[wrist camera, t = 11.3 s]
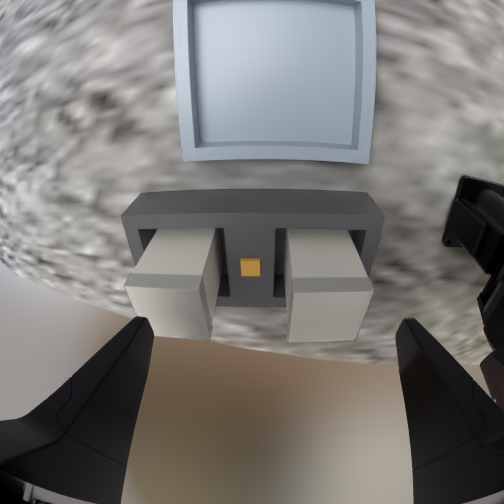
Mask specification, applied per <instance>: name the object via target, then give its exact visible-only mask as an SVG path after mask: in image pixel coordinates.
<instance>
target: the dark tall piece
mask: <svg viewBox="0 0 504 504" xmlns="http://www.w3.org/2000/svg"><path fill="white" fill-rule="evenodd" d="M493 352H494V351H493ZM493 352H492V353H493ZM492 353H491V354H490V355H489V356H488V357H487V358H486V359H485V360H484V361H483V362H482V363H481V365H480V367H481V370H482V373H483V375H484V378H485V381H486V383H487V386H488V389H489V391H490V394H491V397H492V399H493V400H494V399H495V400H496V403H497V405H499V406H500V407H501V408H502V409H503V410H504V366H503V365H502V364H501V363H500V362H499V361H498V360H496V359H495V358H494V357H493V356H492Z"/></svg>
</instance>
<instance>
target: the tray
mask: <svg viewBox="0 0 504 504" xmlns="http://www.w3.org/2000/svg"><path fill="white" fill-rule="evenodd" d="M173 33H174V59H175V77H176V92H177V105H178V117H179V127H180V137H181V147H182V156H183V162H188V161H206V160H232V159H291V160H317V161H334V162H348V163H360V164H369V157H370V148H371V139H372V129H373V118H374V104H375V86H376V19H375V2H374V0H173Z"/></svg>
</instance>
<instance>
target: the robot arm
mask: <svg viewBox="0 0 504 504" xmlns="http://www.w3.org/2000/svg"><path fill="white" fill-rule="evenodd" d="M465 182H466V184H465ZM442 242H443V244H444V245H445V246H446V247H464V248H465V249H466V251H467V252H468V253H469V254H470V256H471V257H473V258H474V259H475V261H476V262H477V263H478V265H479V266H480V267H481V269H482V270H483V271H484V273H485V274H488V276H489V277H490V278H489V280H488V282H487V284H486V286H485V287H484V289H483V291H482V293H480V294H479V296H478V297H477V301H478V305H479V308H480V312H481V316H482V320H483V324H484V328H483V329H484V333H485V335H486V338H487V340H488V342H489V345H490V346H491V348H492V349H493V351H494V352H493V353H492V356H493V357H494V358H495V359H496V360H498V361H499V362H500V363H501V364H502V365H503V366H504V185H501V184H498V183H494V182H490V181H486V180H482V179H478V178H473V177H469V176H463V177H462V178H461V180H460V184H459V188H458V191H457V195H456V199H455V202H454V206H453V209H452V213H451V216H450V219H449V222H448V225H447V228H446V231H445V234H444V237H443V240H442ZM153 340H154V331H153V329H152V327H151V325H150V322H149V320H148V318H146V317H141V316H136V317H135V318H133V319H132V320H131V321H130V322H129V323H128V324H127V325H126V326H125V327H124V328H122V329H121V330H120V331H119V332H118V333H117V334H116V335H115V336H114V337H113V338H112V339H110V340H109V341H108V342H107V343H106V344H105V345H104V346H103V347H102V348H101V349H100V350H99V351H98V352H97V353H95V354H94V355H93V357H91V358H90V359H89V360H88V361H87V362H86V363H85V364H84V365H83V366H82V367H81V368H80V369H79V370H78V371H77V372H75V373H74V374H73V375H72V377H70V378H69V379H68V380H67V381H66V382H65V383H64V384H63V385H62V386H61V387H60V388H58V389H57V390H56V391H55V392H54V393H53V394H52V395H50V396H49V397H48V398H47V399H46V400H44V401H43V402H42V403H41V404H39V405H38V406H37V407H36V408H35V409H33V410H32V411H31V412H30V413H28V414H27V415H25V416H23V417H21V418H18V419H12V420H3V421H0V504H121V497H122V491H123V485H124V479H125V473H126V468H127V462H128V457H129V452H130V447H131V442H132V438H133V433H134V429H135V424H136V420H137V415H138V411H139V407H140V403H141V399H142V395H143V391H144V387H145V383H146V380H147V375H148V371H149V365H150V359H151V352H152V346H153ZM396 346H397V355H398V365H399V374H400V380H401V385H402V390H403V396H404V402H405V408H406V415H407V422H408V429H409V437H410V446H411V457H412V469H413V471H412V472H413V496H414V504H504V410H503V409H502V408H501V407H500V406H499V405H497V404H496V403H495V402H494V401H493V400H492V399H491V398H490V397H489V396H488V395H487V394H486V393H485V391H484V390H483V389H482V388H481V387H480V386H479V385H478V384H477V383H476V382H475V381H474V380H473V378H472V377H471V376H470V375H469V374H468V373H467V372H466V371H465V369H464V368H463V367H462V366H461V365H460V364H459V363H458V362H457V361H456V360H455V359H454V358H453V357H452V355H451V354H450V353H449V352H448V351H447V350H446V349H445V348H444V347H443V346H442V345H441V344H440V343H439V342H438V341H437V340H436V339H435V338H434V337H433V336H432V335H431V334H430V333H429V332H428V331H427V330H426V329H425V328H424V327H423V326H422V325H421V324H420V323H419V322H418V321H417V320H416V319H415V318H405V319H403V320H402V322H401V324H400V326H399V328H398V330H397V332H396Z"/></svg>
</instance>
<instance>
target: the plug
mask: <svg viewBox="0 0 504 504" xmlns="http://www.w3.org/2000/svg"><path fill="white" fill-rule="evenodd" d="M222 270H223V256H222V247H221V237H220V228H167V229H158V230H157V231H156V233H155V235H154V236H153V238H152V240H151V241H150V243H149V245H148V246H147V248H146V250H145V251H144V253H143V255H142V257H141V258H140V260H139V262H138V264H137V265H136V267H135V269H134V271H133V272H132V273H130V275H129V277H128V279H127V281H126V283H125V284H124V287H125V290H126V292H127V295H128V297H129V299H130V302H131V304H132V306H133V309H134V311H135V313H136V315H137V316H141V317H146V318H148V320H149V322H150V325H151V327H152V329H153V331H154V336H161V337H173V338H183V339H197V340H210V338H211V332H212V321H213V316H214V311H215V306H216V300H217V295H218V290H219V285H220V280H221V275H222Z"/></svg>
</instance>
